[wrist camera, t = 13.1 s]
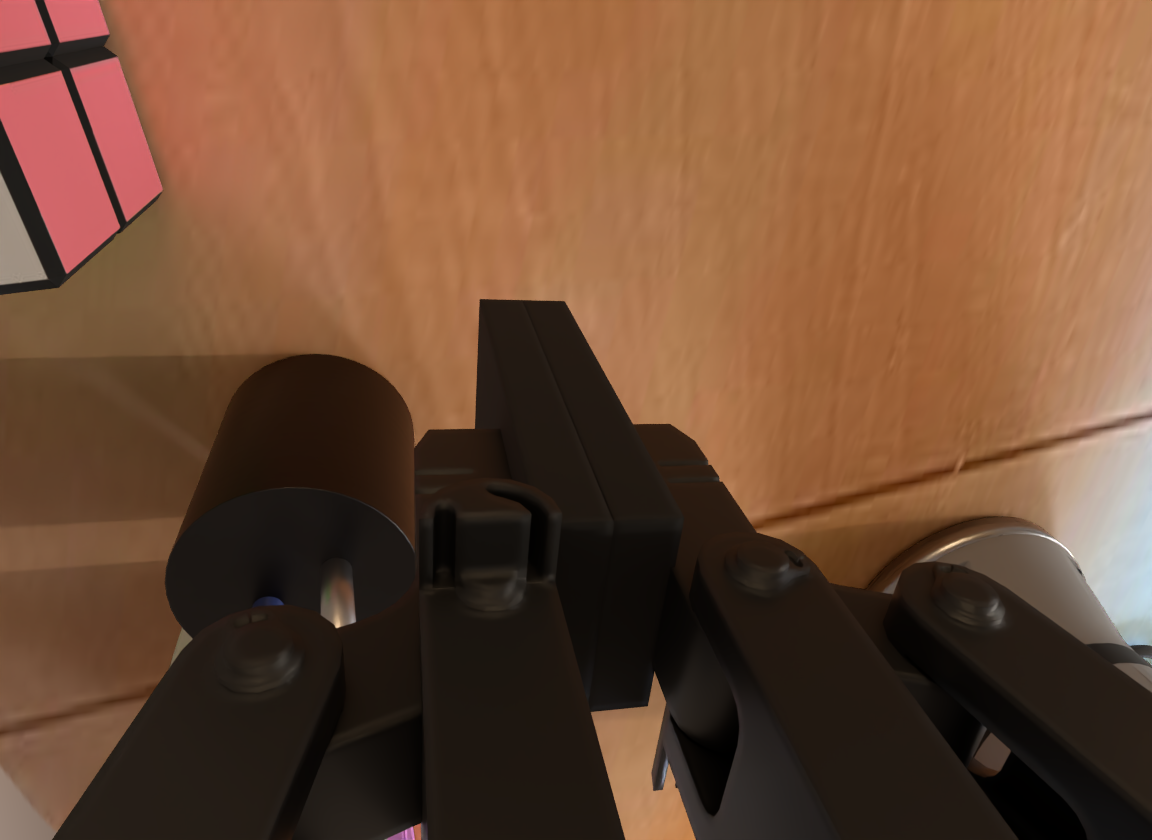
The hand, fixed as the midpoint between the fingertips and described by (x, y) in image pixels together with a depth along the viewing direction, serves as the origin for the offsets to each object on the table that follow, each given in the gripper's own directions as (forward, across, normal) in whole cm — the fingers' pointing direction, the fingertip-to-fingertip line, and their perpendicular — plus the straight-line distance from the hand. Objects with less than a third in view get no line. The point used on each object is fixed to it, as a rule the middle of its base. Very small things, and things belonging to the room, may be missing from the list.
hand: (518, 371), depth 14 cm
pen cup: (+18, +6, +12) cm, 22 cm away
